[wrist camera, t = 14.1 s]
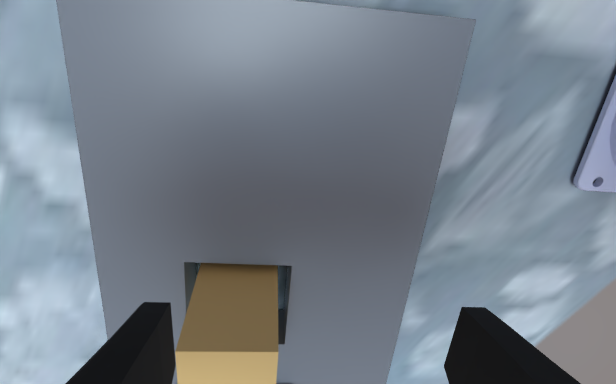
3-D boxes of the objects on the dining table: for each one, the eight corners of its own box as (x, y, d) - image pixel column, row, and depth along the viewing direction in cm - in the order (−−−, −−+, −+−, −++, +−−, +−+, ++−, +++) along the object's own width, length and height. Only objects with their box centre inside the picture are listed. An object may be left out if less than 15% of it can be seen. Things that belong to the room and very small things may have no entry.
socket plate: (447, 17, 16) (475, 19, 14) (365, 393, 25) (374, 431, 23) (86, -21, 15) (52, -26, 12) (136, 393, 24) (122, 434, 22)
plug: (274, 298, 22) (273, 419, 15) (208, 297, 21) (180, 420, 15) (277, 243, 20) (278, 351, 14) (207, 241, 20) (175, 351, 14)
